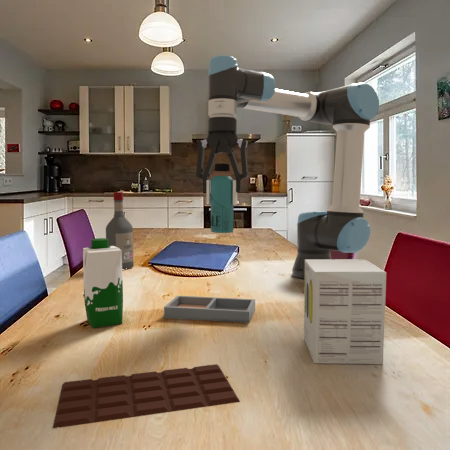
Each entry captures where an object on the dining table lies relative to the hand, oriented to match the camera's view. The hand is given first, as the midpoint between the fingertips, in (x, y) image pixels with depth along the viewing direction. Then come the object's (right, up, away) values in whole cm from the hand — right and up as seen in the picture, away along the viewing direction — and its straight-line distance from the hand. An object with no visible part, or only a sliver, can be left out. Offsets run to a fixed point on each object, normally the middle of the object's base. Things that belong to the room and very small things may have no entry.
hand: (221, 204), depth 117 cm
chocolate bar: (-12, -33, -47) cm, 59 cm away
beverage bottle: (0, -9, +1) cm, 9 cm away
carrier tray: (-3, -28, -6) cm, 29 cm away
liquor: (-41, -23, +54) cm, 72 cm away
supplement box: (+24, -31, -31) cm, 50 cm away
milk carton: (-28, -29, -12) cm, 43 cm away
